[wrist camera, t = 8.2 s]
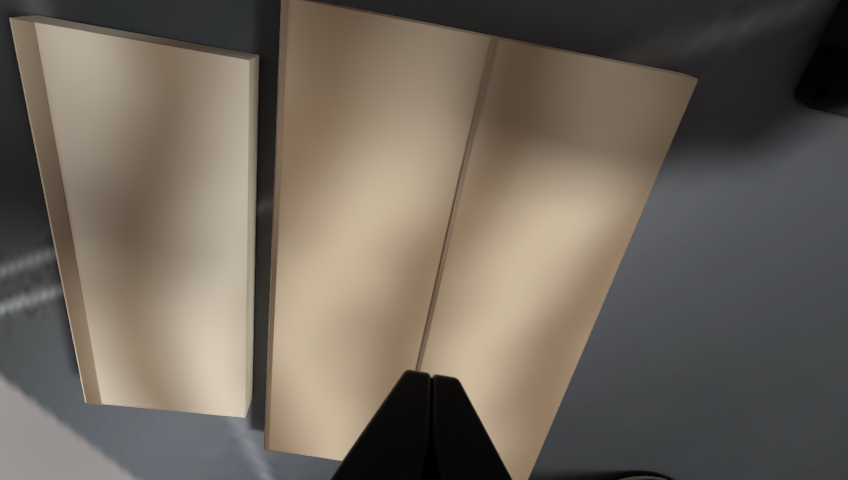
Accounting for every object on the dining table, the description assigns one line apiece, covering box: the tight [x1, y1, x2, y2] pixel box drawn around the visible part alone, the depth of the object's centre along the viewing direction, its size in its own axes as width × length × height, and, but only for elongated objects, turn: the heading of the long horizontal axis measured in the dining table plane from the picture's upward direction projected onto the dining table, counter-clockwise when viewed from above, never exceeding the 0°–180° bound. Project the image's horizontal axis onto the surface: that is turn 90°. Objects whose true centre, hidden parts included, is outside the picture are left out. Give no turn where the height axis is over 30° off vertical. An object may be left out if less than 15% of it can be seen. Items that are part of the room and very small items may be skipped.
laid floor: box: [264, 0, 698, 480], centre depth 20 cm, size 13×20×1 cm, turn 170°
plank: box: [9, 15, 259, 418], centre depth 19 cm, size 7×16×1 cm, turn 170°
